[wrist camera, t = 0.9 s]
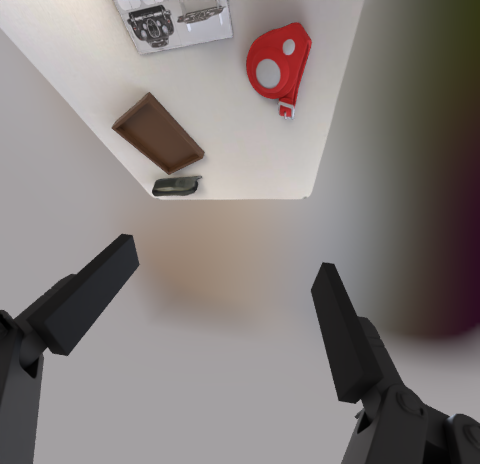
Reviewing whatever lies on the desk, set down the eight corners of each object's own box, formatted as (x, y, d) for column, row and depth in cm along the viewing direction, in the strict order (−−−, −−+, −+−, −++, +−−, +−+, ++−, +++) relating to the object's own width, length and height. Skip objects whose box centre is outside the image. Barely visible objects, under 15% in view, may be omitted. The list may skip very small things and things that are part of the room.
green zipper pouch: (155, 198, 58) (201, 195, 54) (148, 192, 56) (196, 187, 51) (160, 185, 61) (205, 180, 56) (154, 178, 58) (200, 173, 54)
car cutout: (221, -42, 23) (215, -31, 21) (233, 35, 28) (229, 50, 26) (109, -11, 26) (94, 1, 24) (140, 53, 31) (130, 67, 29)
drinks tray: (115, 122, 43) (111, 128, 42) (149, 91, 36) (146, 97, 35) (170, 169, 54) (168, 174, 53) (204, 152, 47) (203, 158, 46)
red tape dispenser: (232, 75, 32) (273, 7, 23) (243, 60, 33) (286, -8, 25) (283, 130, 36) (333, 91, 28) (291, 115, 38) (340, 74, 29)
